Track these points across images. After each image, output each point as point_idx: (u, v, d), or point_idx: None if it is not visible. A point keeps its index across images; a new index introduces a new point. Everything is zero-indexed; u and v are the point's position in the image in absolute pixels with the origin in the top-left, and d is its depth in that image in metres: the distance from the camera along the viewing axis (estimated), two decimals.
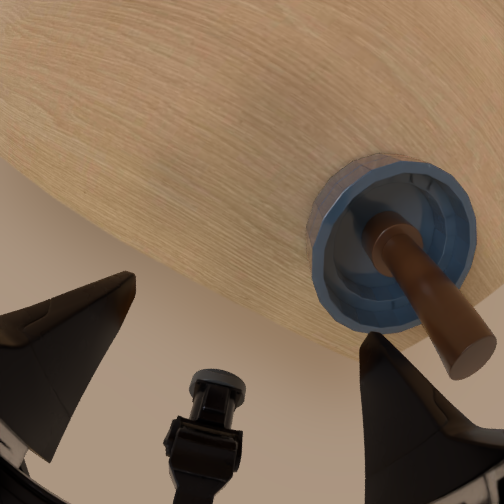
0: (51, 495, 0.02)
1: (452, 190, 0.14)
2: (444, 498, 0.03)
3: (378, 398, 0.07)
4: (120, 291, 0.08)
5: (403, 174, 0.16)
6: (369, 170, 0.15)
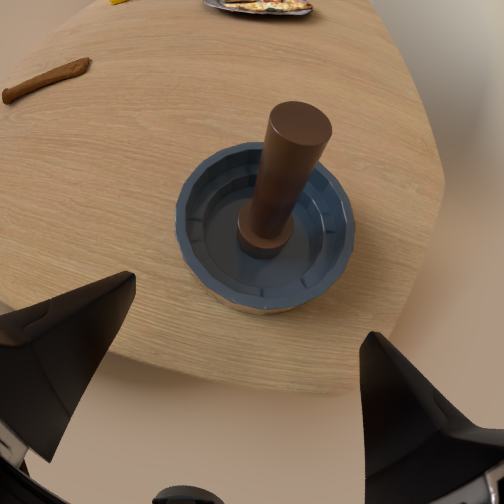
0: (52, 495, 0.02)
1: None
2: (444, 498, 0.03)
3: (378, 398, 0.07)
4: (120, 291, 0.08)
5: (239, 170, 0.23)
6: None
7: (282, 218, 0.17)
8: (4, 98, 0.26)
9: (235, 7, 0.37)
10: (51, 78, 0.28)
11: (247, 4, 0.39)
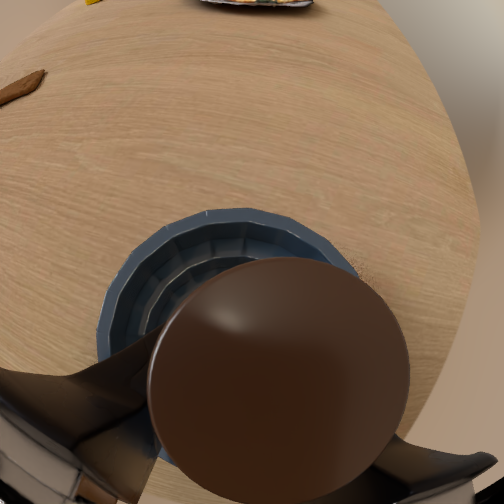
0: (51, 495, 0.02)
1: (260, 224, 0.13)
2: None
3: None
4: None
5: (200, 252, 0.15)
6: (130, 254, 0.12)
7: None
8: None
9: None
10: (3, 97, 0.20)
11: None
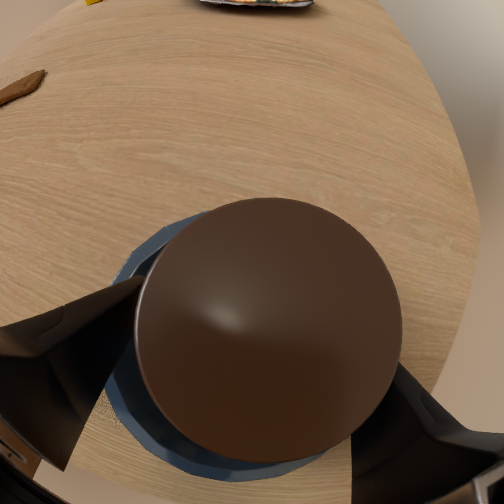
0: (51, 495, 0.02)
1: None
2: (431, 503, 0.03)
3: None
4: (135, 296, 0.08)
5: None
6: (130, 255, 0.12)
7: None
8: None
9: None
10: (3, 98, 0.20)
11: None
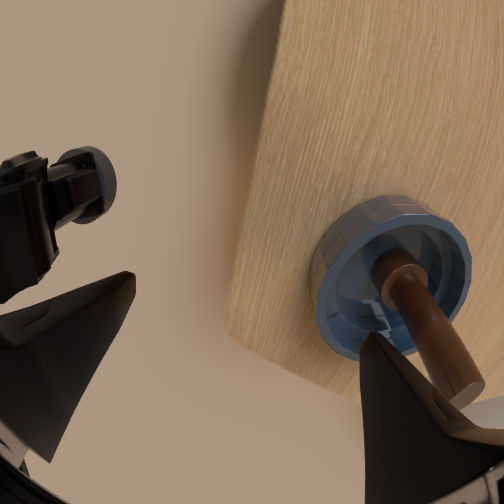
0: (51, 495, 0.02)
1: (455, 307, 0.18)
2: (444, 498, 0.03)
3: (378, 398, 0.07)
4: (120, 291, 0.08)
5: (448, 264, 0.18)
6: None
7: (405, 321, 0.16)
8: None
9: None
10: None
11: None
